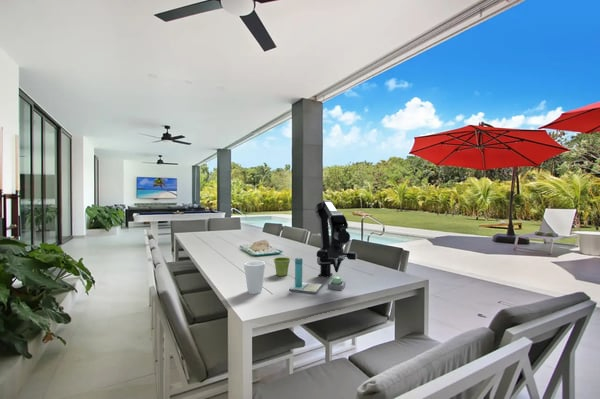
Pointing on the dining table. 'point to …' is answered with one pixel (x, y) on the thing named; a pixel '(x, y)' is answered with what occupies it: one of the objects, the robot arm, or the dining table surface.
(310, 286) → the patchwork square coaster
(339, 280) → the button
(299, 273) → the cylinder
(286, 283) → the dining table surface
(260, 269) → the foam cup
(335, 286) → the button housing
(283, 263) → the plant pot
